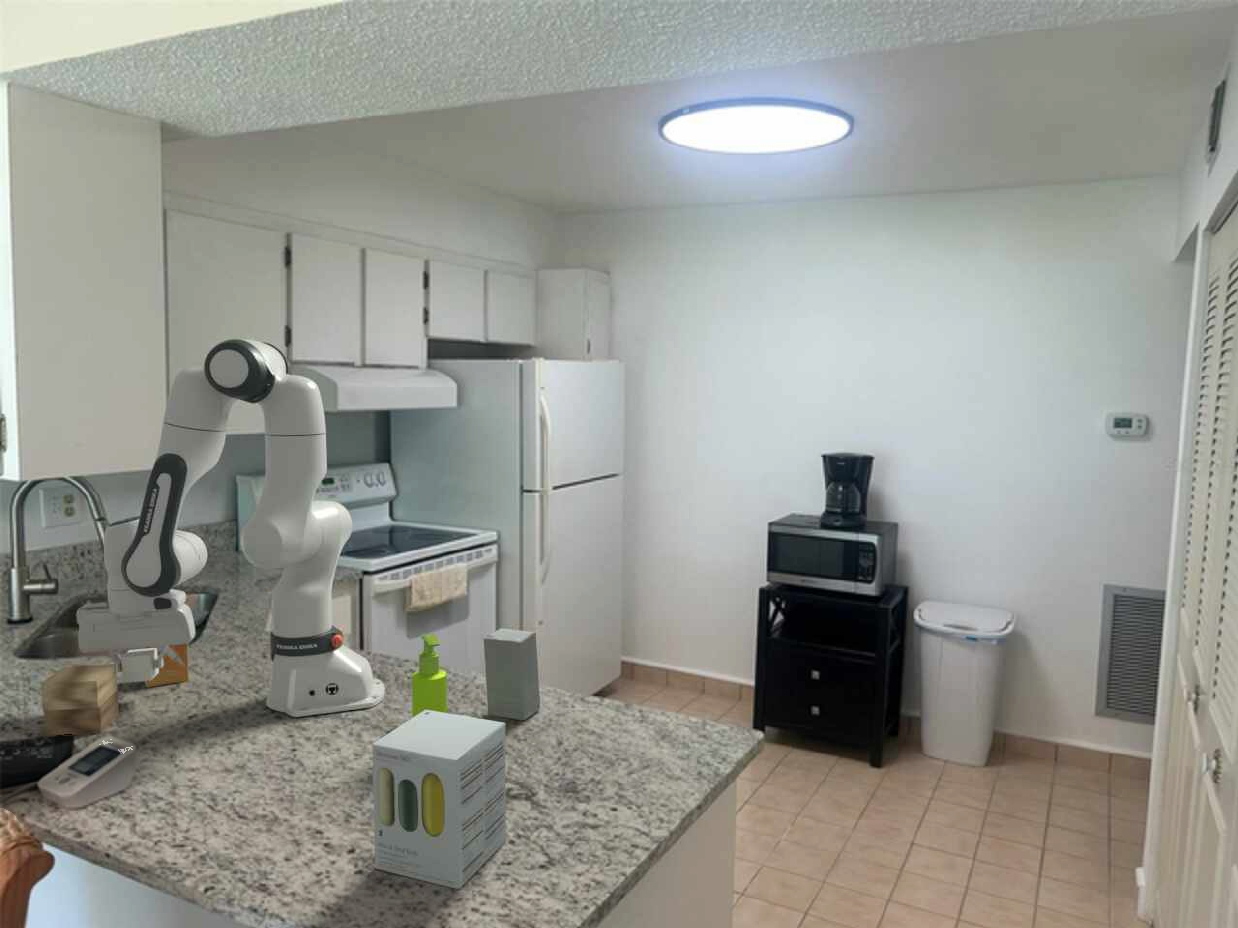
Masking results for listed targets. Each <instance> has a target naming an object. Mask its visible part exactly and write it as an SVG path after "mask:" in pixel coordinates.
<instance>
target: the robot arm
mask: <svg viewBox="0 0 1238 928" xmlns="http://www.w3.org/2000/svg"><path fill="white" fill-rule="evenodd" d="M203 365H204V366H203V367H202V366H194V367H193V366H192V367H188V368H185V369H182V370H181V371H179V372H178V373H177V374H176V376H175V378H174V379H173V380H174V381H173V383H172V386H171V387H170V391H169V395H168V398H167V401H166V404H165V410H164V413H163V414H164V415H163V421H162V429H161V434H160V438H159V439H160V441H159V445H158V450H157V452H156V453H157V454H156V457H155V460H154V463H153V466H152V469H151V472H150V476H149V479H148V483H147V487H146V490H145V494H144V498H143V503H142V507H141V512H140V515H137V516H132V517H129V518H125V519H121V520H117V521H114V522H112V523H111V524H109V525H108V526H107V527H106V528H105V530H104V531H105V532H104V536H103V558H104V567H105V569H106V572H107V575H108V581H107V584H106V591H107V601H105V602H104V601H103V602H97V603H86V604H84V605H83V606H81V607H79V608H78V609H77V611H76V623H77V624H78V626H79V627H78V649H79V650H80V651H81V652H82V653H97V652H99V653H100V652H108V655H109V657H110V659H111V660H112V662H113V663H114V664H116V672H117V673H121V672H122V663H121V657H122V656H120V653H121V651H122V650H133V649H142V648H143V647H155V646H157V647H158V651H161V653H160V655H159V657H158V658H154V659H153V664H154V665H153V668H154V669H155V668H162V667H163V665H164V662H163V657H164V655H165V653H166V652H167V650H168V645H177V644H187V643H188V644H189V643H191V641H192V640H194V638H195V636H196V626H195V621H194V617H193V616H194V615H193V613H192V610H191V608H190V606H189V605H187V604H186V603H185V602H186V600H187V593H186V592H185V591H182V590H179V589H174V588H175V587H176V586H178V585H180V584H183V583H185V582H187V581H188V580H189V579H192V578H193V577H195V576H197V575H198V574H199V573H201V572H202V571H203V570H204V569H205V567H206V565H207V563H208V558H209V551H208V548H207V545H206V543H205V541H204V540H203V539H202V538H201V537H200V536H199V535H197V534H196V533H194V532H190V531H183V530H179V529H178V524H179V520H180V514H181V511H182V507H183V503H184V500H185V498H186V496H187V494H188V492H189V491H190V489H191V488H192V487H193V485H195V483H197V482H198V480H199V479H200V478H201V477H203V476H204V475H206V473H207V472H209V471H210V470H211V469H213V468H214V467H215V466H216V465H217V463H218V462H219V460H220V458H221V455H222V453H223V451H224V450H223V449H224V446H225V443H226V438H227V431H228V423H229V416H230V412H231V408H232V407H233V405H234V404H235V402H237V401H238V400H239V401H243V402H245V403H250V404H251V405H252V404H253V405H254V404H258V405H259V406H260V407H261V409H262V413H263V417H264V418H263V419H264V445H265V446H264V447H265V448H264V449H265V452H264V453H265V457H264V458H265V471H264V473H265V474H264V480H263V486H262V490H261V493H260V497H259V500H258V504H256V505H257V506H256V508H255V510H254V512H253V514H252V516H251V517H250V518H249V520H248V521H247V522H246V523H245V525H244V526H243V527H242V530H241V533H240V541H239V542H240V547H241V551H242V553H243V556H244V557H245V559H246V560H247V561H248V562H249V563H250V564H251V565H253V566H254V567H257V568H261V569H277V568H282V569H283V568H284V569H283V573H282V575H281V577H280V578H279V580H278V582H277V584H275V586H274V588H273V590H272V592H271V597H270V599H271V602H270V603H271V604H270V605H271V625H272V626H271V628H272V630H271V632H270V635H269V656H270V659H271V663H272V664H271V675H270V682H269V683H270V684H269V688H268V693H267V697H266V700H265V705H266V706H267V708H269V709H272V710H274V711H276V712H277V711H278V712H280V713H284V714H287V715H288V716H290V717H293V718H299V717H300V718H301V717H307V716H313V715H321V714H322V715H323V714H330V713H338V712H345V711H351V710H352V711H353V710H354V711H355V710H360V709H368V708H372V707H375V706H377V705H378V704H380V702H381V701H382V700H383V699H384V697H385V692H386V690H385V685H384V683H383V681H382V680H380V679H379V678H374V674H373V670H372V667H371V664H370V663H369V661H368V659H367V658H365V657H364V656H363V655H360V654H359V653H357V652H355V651H354V650H353V649H351V648H349V647H347V646H346V645H344V644H343V643H344V633H343V628H342V627H339V628H338V627H335V626H334V625H333V624H332V623H333V622H332V618H333V617H332V594H333V593H332V589H333V582H334V578H335V577H334V576H335V574H336V569H337V565H338V562H339V559H340V555H341V553H342V550H343V548H344V546H345V545H346V543H347V541H349V539H350V537H351V535H352V532H353V520H352V516H351V514H350V512H349V511H348V509H347V508H346V507H345V506H344V505H342V504H341V503H339V502H337V501H331V500H321V499H318V500H317V499H316V500H314V498H315V496H316V492H317V489H318V487H319V486H320V484H321V482H322V481H323V480H324V479H325V476H327V475H326V474H327V471H328V464H327V461H328V460H327V457H328V456H327V431H326V417H325V411H324V410H325V409H324V405H323V404H324V403H323V399H322V394H321V391H320V388H319V386H318V385H317V383H316V382H315V381H314V380H312V379H310V378H308V377H306V376H301V375H297V374H294V375H293V374H290V365H289V362H288V359H287V358H286V356H285V354H284V353H283V352H282V351H281V350H280V349H279V348H278V347H277V346H275V345H273V344H271V343H268V342H263V341H260V340H259V341H258V340H256V339H252V338H241V339H238V338H237V339H236V338H235V339H228V340H227V339H226V340H224V341H222V342H220V343H218V344H216V345H215V346H213V347H212V348H211V350H209V351H208V353H207V354H206V357H205V359H204V364H203Z"/></svg>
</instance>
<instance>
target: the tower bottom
mask: <svg viewBox="0 0 1238 928" xmlns="http://www.w3.org/2000/svg"><path fill="white" fill-rule="evenodd" d="M43 712H44V722H45V736H47V737H56V736H55V735H60V734H72V735H71V736H74V735H75V736H76V735H91V734H92V735H93V734H102V733H103V732H104V730H106V729H107V727H108V726H109V725H110V724H111V723H112V722H113V721H114V720H115V718H116V717H118V715H119V714H120V707H119V691H118V688H117V691H116V692H115V693H114V694H112V695H111V696H110V697H109V698H108V699H107V700H106V701H105V702H104V703H103V704H102V705H101V706H100V707H99V708H88V709H69V710H49V711H43Z"/></svg>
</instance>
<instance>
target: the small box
mask: <svg viewBox="0 0 1238 928" xmlns="http://www.w3.org/2000/svg"><path fill="white" fill-rule="evenodd" d="M188 644H189V643H187V644H177V645H168V650H167V652H166V653H165V655H164V657H163V662H164V665H163V667H162V668H159V673H158V674H157V675H156V676H155V677H154V678H153V679H152V680H149V681H143V682H144V684H145V687H146V688H152V687H157V686H162V685H170V684H171V685H172V684H176V683H177V684H178V683H183V682H189V681H190V677H189V676H190V674H189V649H188V648H189V647H188ZM147 648H157V656H158V657H159V655H160V653H161V651H158V647H157V646H155V647H143V648H141V649H147Z"/></svg>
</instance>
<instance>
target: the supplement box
mask: <svg viewBox="0 0 1238 928" xmlns="http://www.w3.org/2000/svg"><path fill="white" fill-rule="evenodd" d="M371 746H372V748H371V749H372V781H373V782H372V783H373V785H372V787H373V791H372V792H373V818H374V820H373V825H374V826H373V827H374V859H375V860H374V864H375V865H374V867H375V869H376V870H379V871H384V872H388V873H391V874H396V875H400V876H403V877H408V878H410V879H416V880H420V881H423V882H427V883H432V884H435V885H439V886H442V887H443V886H444V887H448V888H450V889H451V888H452V889H455V890H460V889H461V888H462V887H463V886H464V885H465V884H466V883H467V882H468V881H469V880H470V879H471V877H473V876H474V874H476V873H477V872H478V871H479V869H481V867H483V866H484V864H485V863H486V862H487V861H488V860H489V859H490V858H492V856H493V855H494V854H495V853H497V851H498V850H499V849H500V848H501V847H502V846H503V845H504V844H505V843H506V841H507V829H506V828H507V826H506V825H507V823H506V818H507V815H506V811H507V810H506V807H507V806H506V805H507V804H506V803H507V802H506V722H504V721H503V722H502V721H495V720H490V719H484V718H483V719H482V718H477V717H472V716H468V715H462V714H456V713H455V714H453V713H448V712H447V713H443V712H437V711H431V710H424V711H423V712H421V713H419V714H418V715H416V716H415V717H413V716H412V718H410V719H408V720H407V721H406V722H404V723H402V724H401V725H398V727H396V728H395V729H393V730H392V731H390V732H389V733H387V734H386V735H384V736H383V737H381V738H379V739H378V740H376V741H375V742H373V743H372V745H371Z"/></svg>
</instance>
